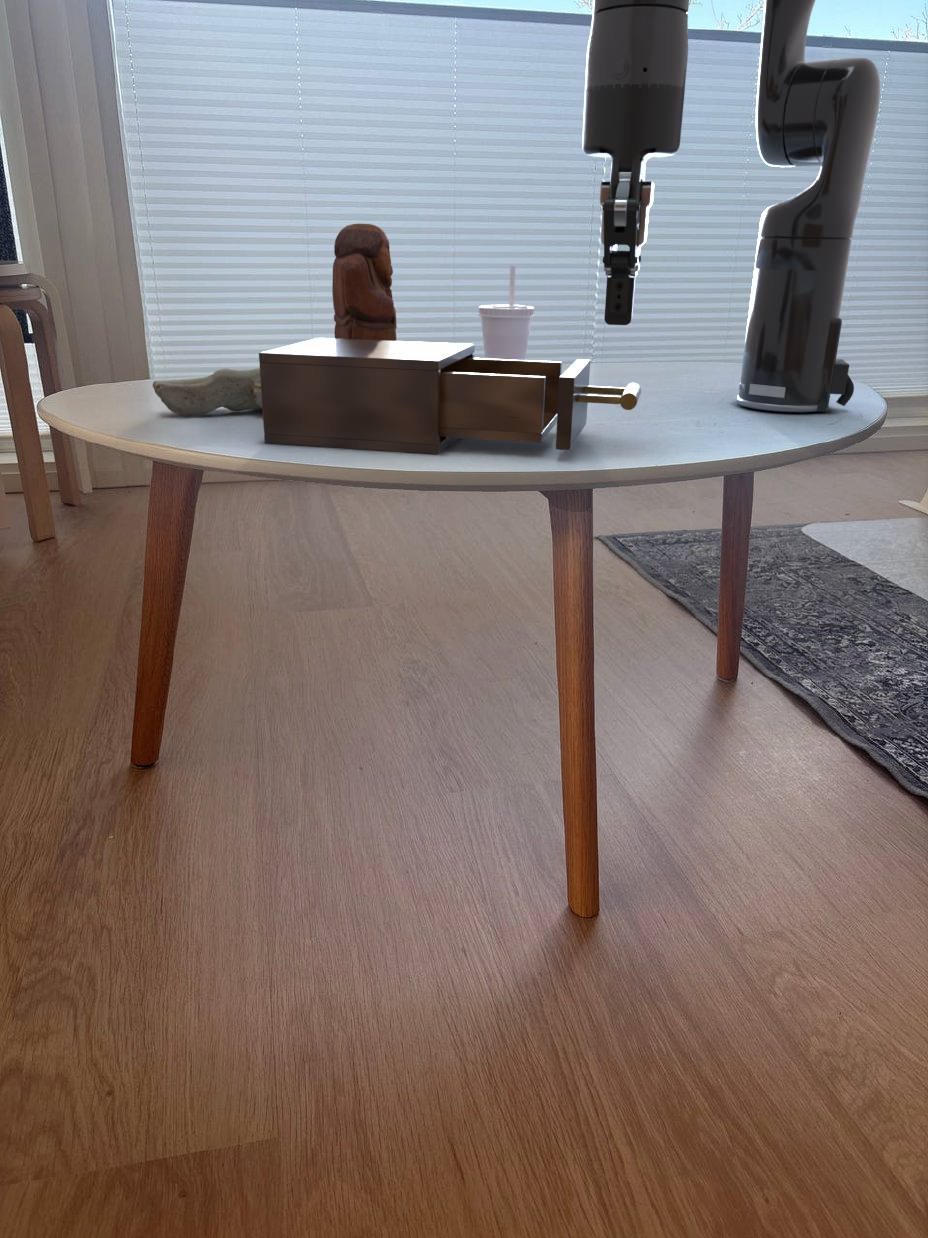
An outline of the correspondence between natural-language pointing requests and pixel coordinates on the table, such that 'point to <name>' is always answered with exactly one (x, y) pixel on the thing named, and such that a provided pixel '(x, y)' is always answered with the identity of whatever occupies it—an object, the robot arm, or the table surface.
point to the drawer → (521, 400)
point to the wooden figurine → (363, 285)
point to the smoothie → (506, 327)
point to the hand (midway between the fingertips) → (618, 323)
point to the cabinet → (357, 393)
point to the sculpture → (212, 392)
